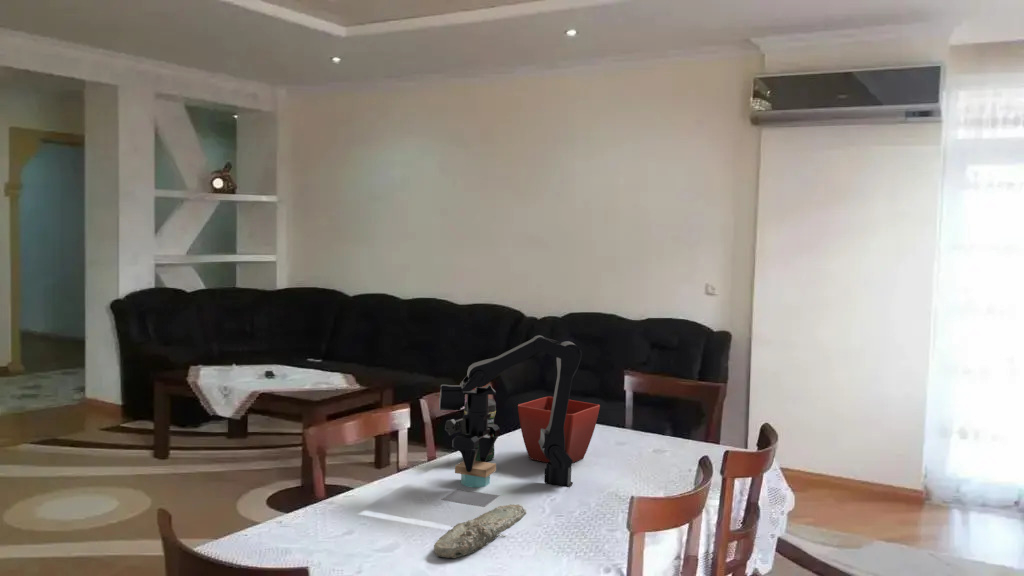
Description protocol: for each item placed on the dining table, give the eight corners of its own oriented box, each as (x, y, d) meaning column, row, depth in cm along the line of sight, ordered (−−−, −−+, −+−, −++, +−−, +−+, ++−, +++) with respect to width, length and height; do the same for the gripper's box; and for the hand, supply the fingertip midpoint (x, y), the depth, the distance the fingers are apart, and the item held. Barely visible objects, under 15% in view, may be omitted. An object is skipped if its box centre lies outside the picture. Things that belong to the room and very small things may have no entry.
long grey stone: (536, 523, 208) (500, 518, 212) (536, 502, 208) (500, 497, 212) (462, 564, 177) (422, 556, 181) (462, 538, 177) (422, 532, 181)
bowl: (492, 484, 233) (493, 470, 232) (482, 492, 226) (482, 477, 226) (468, 481, 235) (469, 466, 235) (457, 488, 229) (457, 473, 228)
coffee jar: (476, 465, 251) (478, 403, 250) (457, 459, 257) (459, 398, 255) (499, 459, 258) (501, 398, 257) (480, 454, 264) (482, 394, 262)
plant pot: (599, 457, 264) (601, 404, 263) (569, 471, 248) (571, 414, 247) (545, 447, 274) (547, 395, 273) (514, 460, 258) (516, 405, 257)
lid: (495, 470, 232) (496, 463, 232) (485, 477, 225) (486, 470, 225) (465, 466, 235) (465, 459, 235) (454, 473, 229) (455, 465, 229)
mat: (499, 499, 220) (499, 495, 220) (484, 510, 211) (484, 506, 211) (457, 492, 225) (457, 488, 225) (440, 503, 216) (440, 499, 215)
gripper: (464, 400, 241) (463, 455, 242) (434, 413, 223) (433, 472, 224) (501, 405, 237) (499, 460, 238) (473, 418, 219) (472, 477, 220)
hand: (475, 467), depth 230 cm, fingers open, 9 cm apart
